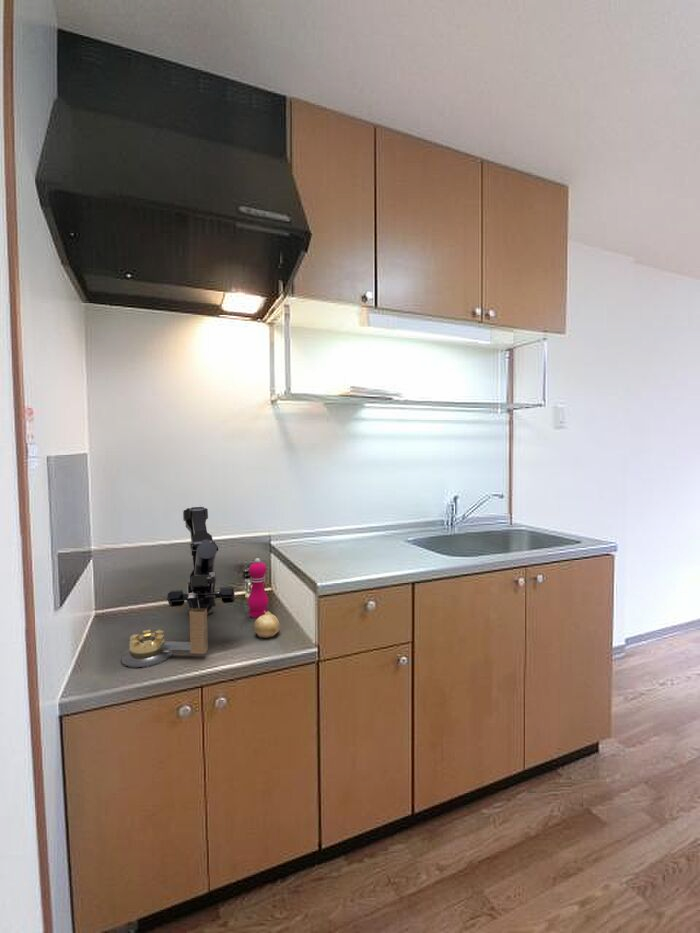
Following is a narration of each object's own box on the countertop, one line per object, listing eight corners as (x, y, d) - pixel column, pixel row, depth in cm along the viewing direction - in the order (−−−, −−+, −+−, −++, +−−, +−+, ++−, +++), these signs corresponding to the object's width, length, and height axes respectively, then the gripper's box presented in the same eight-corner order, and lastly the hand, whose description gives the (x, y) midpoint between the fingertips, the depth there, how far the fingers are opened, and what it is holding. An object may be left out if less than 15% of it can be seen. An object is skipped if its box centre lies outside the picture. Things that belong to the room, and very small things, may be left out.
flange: (116, 655, 125) (116, 649, 125) (163, 641, 134) (163, 636, 134) (129, 673, 115) (129, 667, 115) (179, 657, 124) (179, 651, 124)
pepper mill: (263, 619, 150) (263, 561, 148) (244, 617, 151) (243, 560, 150) (271, 610, 157) (271, 556, 156) (253, 609, 158) (252, 555, 157)
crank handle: (123, 657, 120) (121, 614, 119) (140, 642, 129) (139, 602, 128) (199, 659, 119) (198, 616, 118) (212, 644, 128) (211, 604, 127)
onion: (284, 635, 138) (284, 613, 137) (262, 643, 132) (262, 620, 132) (270, 627, 144) (270, 606, 143) (249, 634, 138) (248, 612, 138)
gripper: (167, 564, 128) (160, 616, 118) (233, 560, 132) (231, 610, 122) (173, 581, 136) (167, 631, 126) (235, 577, 140) (233, 626, 130)
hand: (199, 624), depth 126 cm, fingers closed
